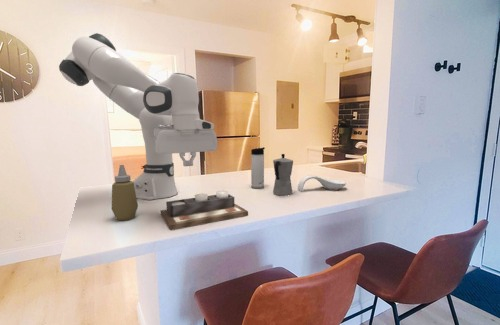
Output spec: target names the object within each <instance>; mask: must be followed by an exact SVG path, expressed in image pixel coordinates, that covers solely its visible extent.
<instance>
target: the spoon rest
mask: <svg viewBox="0 0 500 325" xmlns="http://www.w3.org/2000/svg"><path fill="white" fill-rule="evenodd" d="M313 179H314V180H316V181H317V182H319V183H320V185H322V187H324V188H325V189H326V190H328V189H331V190H330V191H337V190H338V189H339V190H340V189H342V188H344V187H345V186H346V185H347V182H346V181H343V180H338V179H332V178H331V179H330V178H329V179H328V178H322V177H319V176H317V175H314V174H313V175H312V174H311V175H307V176H305V177H303V178H302V179H301V180H300V181H299V182H298V185H297V190H298V191H299V192H304V186H305V183H306V182H307V181H309V180H313ZM339 190H338V191H339Z"/></svg>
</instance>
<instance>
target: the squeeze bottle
mask: <svg viewBox="0 0 500 325" xmlns="http://www.w3.org/2000/svg"><path fill="white" fill-rule="evenodd" d="M138 208H139V205H138V198H136V192H135V187H134V183H133V181H132V180H131V175H130V174H127V171H126V168H125V165H124V164H120V165H119V168H118V174H117V175H115V176H114V183H112V186H111V211H112V214H113V215H114V218H115V219H116V220H117V221H126V220H131V219H133V218H135V217H136V213H137V212H138V211H137V210H138Z"/></svg>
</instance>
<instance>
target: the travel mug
mask: <svg viewBox="0 0 500 325" xmlns="http://www.w3.org/2000/svg"><path fill="white" fill-rule="evenodd" d="M265 149H266V147H257V148H252V149H251V153H250V154H251V156H250V164H251V166H250V167H251V169H250V170H251V172H250V174H251V177H250V178H251V180H250V181H251V183H250V184H251V185H250V186H251V188H252V189H254V190H259V189H260V190H263V189H265V188H264V187H265V153H264V152H265Z"/></svg>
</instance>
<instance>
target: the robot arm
mask: <svg viewBox="0 0 500 325" xmlns="http://www.w3.org/2000/svg"><path fill="white" fill-rule="evenodd" d="M58 69H59V72H60V74H61V75H62V76H63V78H64V79H65V80H67V82H69V83H71V84H73V85H76V86H77V87H84V86H86V85H87V84H89V83H90V82H91V80H92V82H93V84H94V85H95V86H96V87H97V89H98V90H99V91H100V92H102V94H103V95H104V96H106V97H107V98H108V99H109V100H111V101H112V102H113V103H114V104H116V106H119V108H121V109H122V110H124V111H125V112H126V113H128V114H129V115H131V116H133V117H134V118H135V119H138V121H139V125H140V126H141V131H142V132H141V134H142V138H143V141H144V147H145V159H146V164H144V165H141V166H140V167H141V168H140V169H143V171H142V173H141V174H140V175H138V176H137V177H136V178H135V179H134V180H133V181H132V182H133V183H134V187H135V192H136V198H137V199H140V200H147V201H151V200H152V201H153V200H157V199H165V198H169V197H175V196H176V195H178V193H179V191H178V189H177V186H176V182H175V176H174V175H175V167H174V166H175V164H174V162H173V160H174V159H173V154H178V156H179V157H180V159H181V160H182V165H183V167H193V166H194V160H195V158H196V156H197V153H202V152H203V153H204V152H215V151H216V150H218V138H217V133H216V132H215V130H214V128H215V124H214V123H213V122H210V121H207V120H204V119H201V117H200V111H199V104H200V103H199V102H200V97H199V87H198V82H197V80H196V79H195V77H194V76H192V75H190V74H185V73H180V72H175V73H172V74H171V75H170V76H169V77H168V78H166V80H163V81H162V82H161V81H158V80H157V79H155V78H153V77H152V76H150V75H148V74H147V73H146V72H144V71H143V70H142V69H140V68H139V67H137V66H136V65H135V64H133V63H132V62H131V61H129V60H128V59H127V58H126V57H124V56H123V55H121V53H119V52H117V48H116V46H114V44H113V42H111V40H110V39H108V38H107V36H105V35H103V34H101V33H98V32H97V33H96V32H95V33H93V34H91V35H89V36H81V37H79V38H77V39H76V40H75V41H74V42H73V44H72V47H71V51H70V53H68V55H67V56H66V58H65V59H62V60H61V62H60V64H58ZM187 153H189V155H190V159H189V160H188V159H187V160H186V158H185V156H186V154H187Z"/></svg>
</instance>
